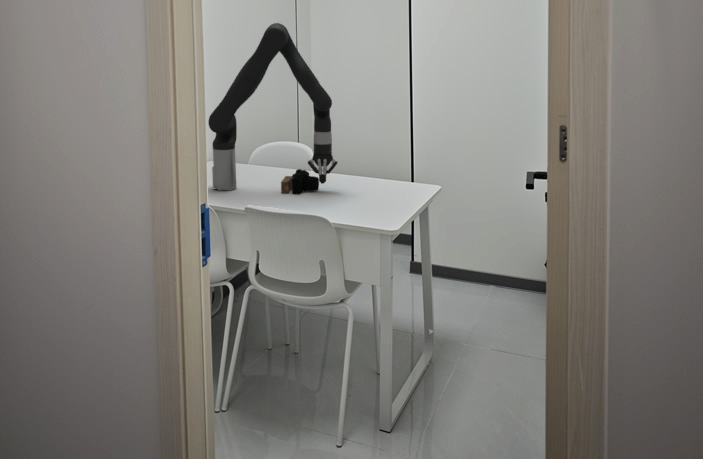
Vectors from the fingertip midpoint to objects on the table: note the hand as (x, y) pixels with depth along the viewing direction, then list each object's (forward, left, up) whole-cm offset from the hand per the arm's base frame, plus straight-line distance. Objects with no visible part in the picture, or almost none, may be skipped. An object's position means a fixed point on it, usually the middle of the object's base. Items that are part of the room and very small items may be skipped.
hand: (322, 183), depth 308 cm
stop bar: (-15, -1, -4) cm, 16 cm away
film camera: (-7, 0, -4) cm, 8 cm away
